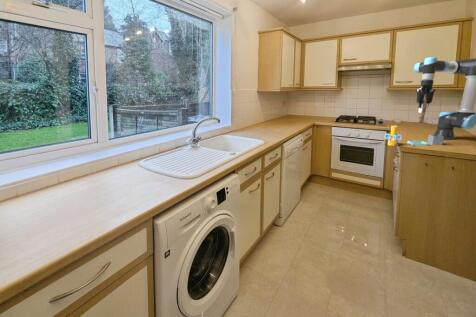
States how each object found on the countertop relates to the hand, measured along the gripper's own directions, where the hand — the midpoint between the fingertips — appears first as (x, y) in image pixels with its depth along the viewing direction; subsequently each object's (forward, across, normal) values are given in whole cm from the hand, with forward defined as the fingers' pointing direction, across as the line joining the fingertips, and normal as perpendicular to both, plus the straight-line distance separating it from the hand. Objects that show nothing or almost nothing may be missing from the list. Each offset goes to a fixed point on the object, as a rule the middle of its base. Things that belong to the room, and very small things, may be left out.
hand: (422, 112), depth 207 cm
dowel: (+8, 0, 0) cm, 8 cm away
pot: (+25, -13, +1) cm, 29 cm away
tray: (+25, 0, 0) cm, 25 cm away
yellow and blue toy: (+26, +18, -4) cm, 32 cm away
